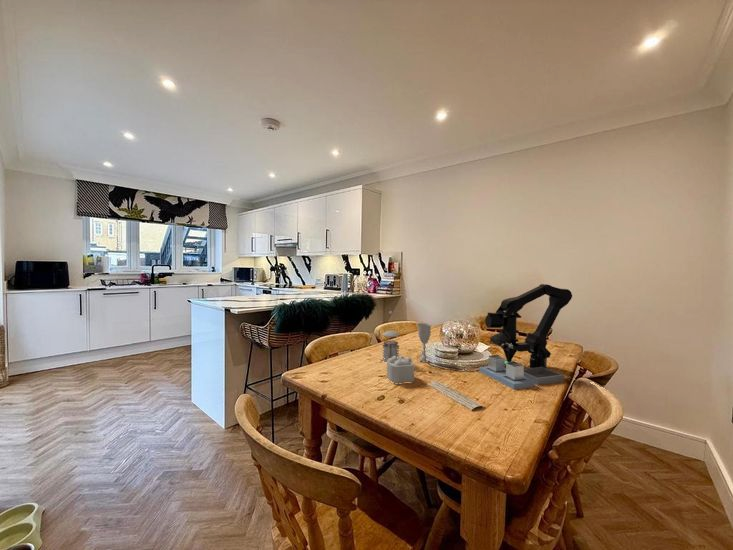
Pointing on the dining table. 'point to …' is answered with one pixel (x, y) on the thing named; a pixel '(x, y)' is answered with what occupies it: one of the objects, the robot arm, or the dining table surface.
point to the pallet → (502, 379)
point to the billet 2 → (514, 371)
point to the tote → (543, 375)
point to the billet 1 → (496, 363)
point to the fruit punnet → (400, 369)
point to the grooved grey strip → (455, 395)
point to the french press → (390, 345)
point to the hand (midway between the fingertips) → (508, 361)
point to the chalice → (424, 336)
